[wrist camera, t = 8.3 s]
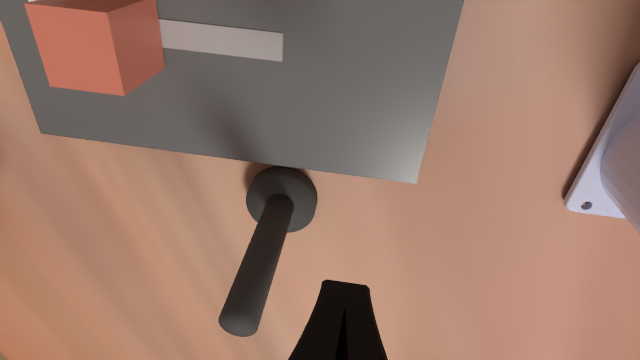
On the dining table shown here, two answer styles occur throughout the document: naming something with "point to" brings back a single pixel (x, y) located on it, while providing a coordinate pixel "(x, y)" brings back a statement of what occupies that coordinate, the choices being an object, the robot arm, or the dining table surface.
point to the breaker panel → (269, 83)
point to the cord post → (266, 242)
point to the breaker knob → (97, 43)
